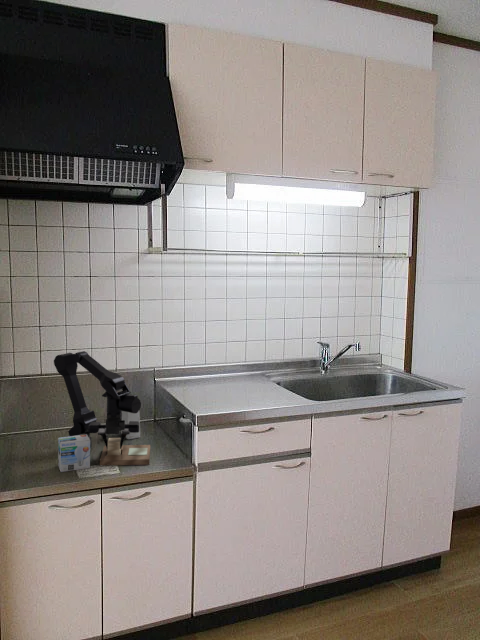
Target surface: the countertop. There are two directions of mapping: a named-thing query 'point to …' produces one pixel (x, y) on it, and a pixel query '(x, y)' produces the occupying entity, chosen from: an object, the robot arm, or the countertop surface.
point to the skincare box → (131, 417)
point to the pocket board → (127, 456)
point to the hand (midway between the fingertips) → (114, 448)
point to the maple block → (114, 446)
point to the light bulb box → (73, 452)
